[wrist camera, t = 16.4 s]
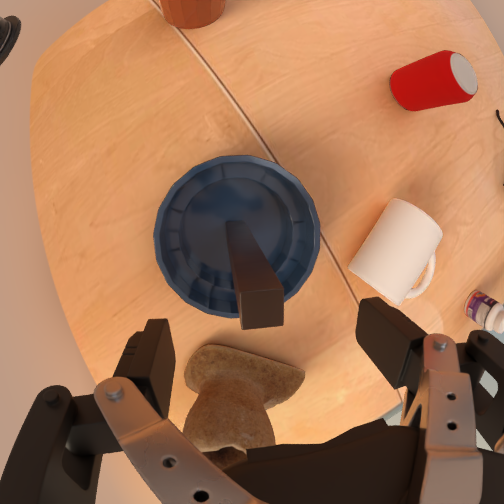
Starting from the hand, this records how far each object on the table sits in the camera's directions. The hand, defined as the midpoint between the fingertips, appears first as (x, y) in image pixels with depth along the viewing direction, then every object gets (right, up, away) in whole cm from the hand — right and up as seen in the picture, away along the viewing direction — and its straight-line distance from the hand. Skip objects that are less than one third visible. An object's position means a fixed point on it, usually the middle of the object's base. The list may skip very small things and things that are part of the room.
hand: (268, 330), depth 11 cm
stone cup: (-3, -15, +25) cm, 30 cm away
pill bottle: (+42, -7, +29) cm, 51 cm away
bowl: (-3, +6, +19) cm, 20 cm away
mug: (+17, +3, +23) cm, 29 cm away
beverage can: (+20, +25, +17) cm, 36 cm away
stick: (-2, +5, +19) cm, 20 cm away
